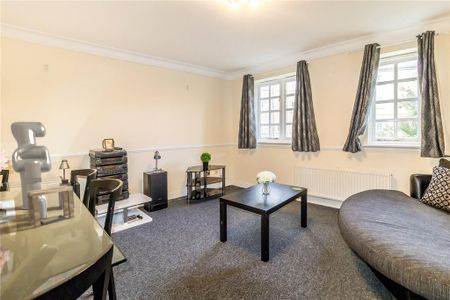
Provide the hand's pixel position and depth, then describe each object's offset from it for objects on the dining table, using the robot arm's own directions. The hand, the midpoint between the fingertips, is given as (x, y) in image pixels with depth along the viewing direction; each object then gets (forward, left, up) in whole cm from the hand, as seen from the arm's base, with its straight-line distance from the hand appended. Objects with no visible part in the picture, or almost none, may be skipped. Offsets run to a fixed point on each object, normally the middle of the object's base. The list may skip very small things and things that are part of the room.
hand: (36, 210), depth 145 cm
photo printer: (+9, 0, -2) cm, 10 cm away
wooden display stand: (+24, 0, -2) cm, 25 cm away
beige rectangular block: (+1, +16, -2) cm, 16 cm away
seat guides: (+24, 0, -2) cm, 25 cm away
